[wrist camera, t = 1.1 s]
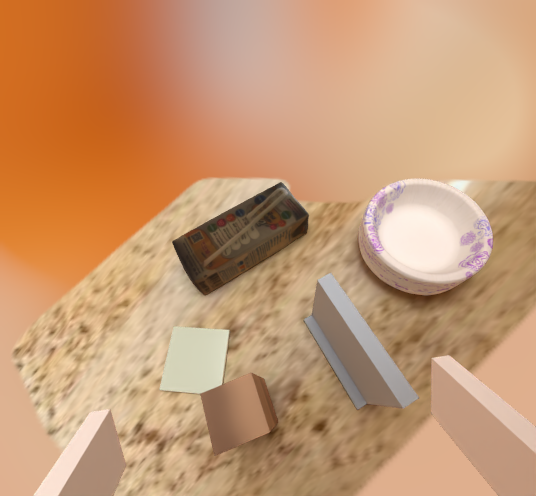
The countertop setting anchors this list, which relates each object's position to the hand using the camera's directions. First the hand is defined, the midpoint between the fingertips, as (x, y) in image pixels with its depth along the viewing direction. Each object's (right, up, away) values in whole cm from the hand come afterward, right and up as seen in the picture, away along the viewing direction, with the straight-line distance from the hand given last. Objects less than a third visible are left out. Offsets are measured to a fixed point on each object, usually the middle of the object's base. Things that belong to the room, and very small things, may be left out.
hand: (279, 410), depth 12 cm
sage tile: (-10, -8, +27) cm, 30 cm away
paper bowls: (+20, +6, +31) cm, 37 cm away
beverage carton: (-4, +7, +34) cm, 35 cm away
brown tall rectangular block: (-2, -13, +23) cm, 27 cm away
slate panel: (+9, -7, +25) cm, 28 cm away
